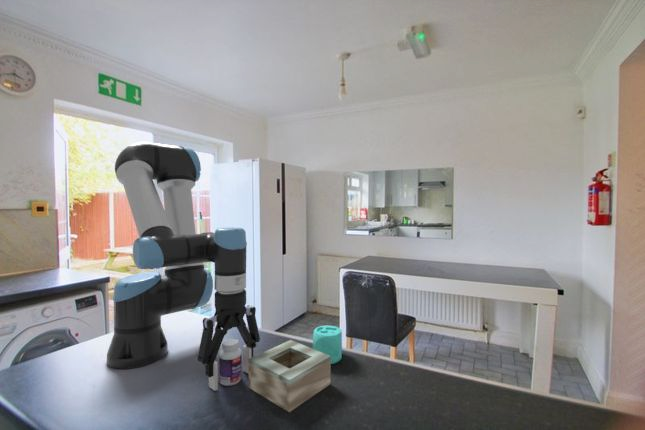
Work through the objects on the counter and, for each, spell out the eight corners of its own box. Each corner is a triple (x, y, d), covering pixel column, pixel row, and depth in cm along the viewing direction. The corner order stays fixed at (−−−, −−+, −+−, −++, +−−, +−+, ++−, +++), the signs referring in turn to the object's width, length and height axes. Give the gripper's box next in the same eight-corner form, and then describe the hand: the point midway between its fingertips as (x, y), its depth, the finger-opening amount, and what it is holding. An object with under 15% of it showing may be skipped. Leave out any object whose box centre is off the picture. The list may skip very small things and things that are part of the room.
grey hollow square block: (248, 387, 75) (248, 358, 75) (290, 365, 86) (290, 339, 86) (289, 412, 66) (289, 380, 66) (330, 383, 77) (330, 355, 77)
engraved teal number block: (341, 365, 86) (341, 336, 86) (312, 364, 87) (312, 335, 87) (341, 351, 94) (341, 325, 94) (314, 350, 95) (314, 324, 95)
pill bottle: (235, 387, 75) (235, 347, 75) (214, 385, 76) (214, 345, 76) (245, 375, 81) (245, 338, 80) (226, 373, 82) (226, 336, 81)
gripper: (196, 303, 67) (197, 406, 68) (274, 284, 84) (274, 367, 84) (179, 296, 72) (180, 393, 72) (256, 280, 89) (256, 358, 89)
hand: (230, 379), depth 78 cm, fingers open, 9 cm apart
